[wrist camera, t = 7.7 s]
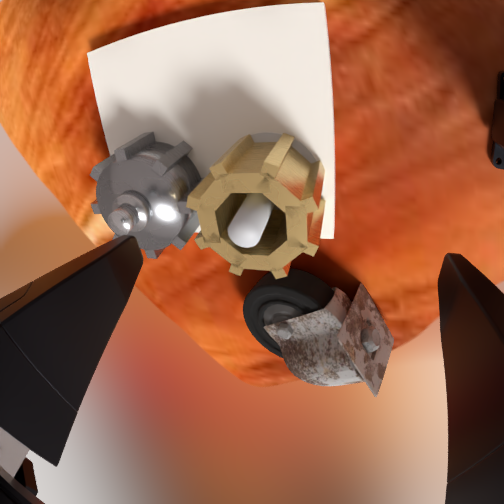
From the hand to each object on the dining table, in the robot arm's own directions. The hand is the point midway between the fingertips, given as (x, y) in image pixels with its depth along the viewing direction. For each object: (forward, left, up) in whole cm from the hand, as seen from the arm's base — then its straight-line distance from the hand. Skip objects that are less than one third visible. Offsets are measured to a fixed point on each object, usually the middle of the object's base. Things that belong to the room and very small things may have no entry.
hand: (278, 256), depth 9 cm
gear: (+11, +3, -12) cm, 16 cm away
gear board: (+7, -1, -13) cm, 15 cm away
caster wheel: (0, +15, -13) cm, 20 cm away
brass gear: (+3, +3, -11) cm, 12 cm away
